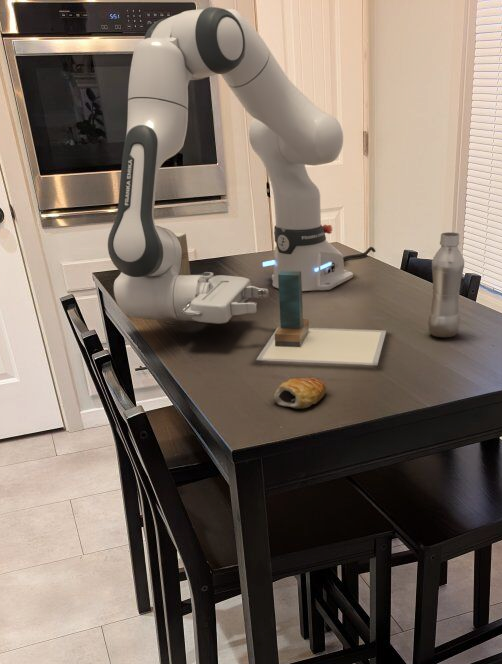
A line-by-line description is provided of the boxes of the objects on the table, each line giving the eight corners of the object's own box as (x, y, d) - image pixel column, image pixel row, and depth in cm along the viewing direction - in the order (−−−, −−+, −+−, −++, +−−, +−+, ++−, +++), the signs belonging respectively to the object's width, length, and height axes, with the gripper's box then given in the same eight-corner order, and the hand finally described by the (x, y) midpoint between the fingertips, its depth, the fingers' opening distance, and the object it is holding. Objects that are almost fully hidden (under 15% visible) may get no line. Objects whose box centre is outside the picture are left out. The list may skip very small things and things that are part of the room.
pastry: (304, 386, 127) (304, 365, 125) (336, 394, 123) (336, 373, 121) (270, 404, 120) (269, 382, 118) (303, 414, 117) (302, 392, 115)
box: (183, 281, 188) (178, 236, 182) (168, 280, 189) (162, 235, 183) (191, 275, 192) (186, 232, 186) (176, 275, 193) (170, 231, 187)
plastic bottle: (461, 332, 151) (470, 231, 140) (455, 342, 145) (463, 238, 135) (431, 329, 152) (437, 230, 142) (424, 339, 147) (429, 236, 136)
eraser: (275, 346, 142) (271, 279, 135) (285, 330, 150) (282, 266, 144) (300, 347, 141) (297, 279, 135) (308, 330, 150) (307, 266, 143)
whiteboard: (255, 364, 136) (255, 359, 136) (278, 330, 153) (278, 326, 152) (377, 369, 133) (377, 364, 133) (386, 334, 150) (386, 330, 149)
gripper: (175, 297, 134) (248, 299, 132) (208, 269, 151) (272, 271, 150) (180, 330, 138) (250, 333, 136) (211, 299, 155) (274, 301, 153)
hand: (262, 300), depth 143 cm, fingers open, 8 cm apart
